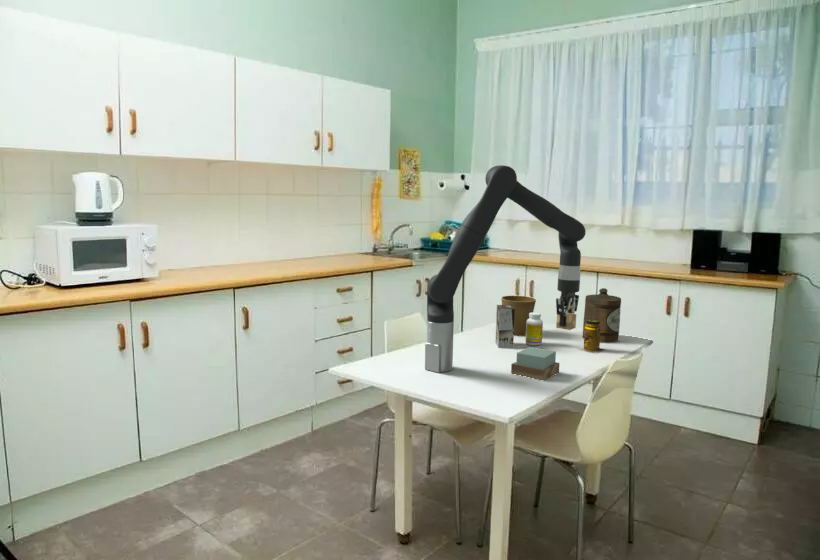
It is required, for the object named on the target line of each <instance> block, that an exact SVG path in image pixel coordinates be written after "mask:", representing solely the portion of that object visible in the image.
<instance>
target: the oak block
mask: <svg viewBox="0 0 820 560" xmlns="http://www.w3.org/2000/svg"><path fill="white" fill-rule="evenodd" d="M559 323H560V316H559V315H558V314H557V313H556V325H555V326H556V329H561V330H568V331H571V330H573V329H576V325H577V314H576V313H574V314H573V313H567V317H566V326H565V327H562V326H560V325H559Z"/></svg>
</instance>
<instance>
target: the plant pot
mask: <svg viewBox="0 0 820 560" xmlns="http://www.w3.org/2000/svg"><path fill="white" fill-rule="evenodd" d="M536 301H537V299H536V298H534V297H531V296H525V295H504V296H503V295H502V296H501V305H512V306H513V307H514V308H515V319H514V336H516V335H517V336H519V335H522V336H526V322H527V320H528V319H529V318H530V317H529V313H532V312H534V310H535V306H536ZM519 337H520V336H519Z"/></svg>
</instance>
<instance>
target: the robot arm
mask: <svg viewBox="0 0 820 560" xmlns="http://www.w3.org/2000/svg"><path fill="white" fill-rule="evenodd" d="M517 179H518V176H517V173H516V170H515V169H514V168H512V167H511V166H508V165H496V166H493V167H490V169H488V171H487V172H486V173H485V177H484V180H485V185H486V187H485V190H484V192H483V194H482V196H481V198H480V200H479V201H478V202H477V203H476V204H475V206H474V207H473V208H472V209H471V211H470V212H469V213H468V214H467V215H466V217H464V219H463V221H462V222H461V224H460V226H459V228H458V229H457V232H456V234H455V236H454V238H453V241H452V242H451V246H450V248H449V250H448V253H447V254H448V255H447V257H446V259H445V261H444V264H443V265H442V267H441V268H440V270H439V271H438V273H437V274H435V275H433V276H432V277H431V278H430V279H429V280H428V282H427V288H426V300H427V301H426V315H427V318H426V342H425V344H424V370H428V371H430V372H434V373H445V372H450V371H452V370H453V369H454V368H453V366H454V365H453V363H454V361H453V360H454V358H453V357H454V325H455V324H454V323H455V319H454V318H455V312H454V311H455V310H454V296H455V294H456V291H457V290H458V287H459V285H460V282H461V279H462V277H463V276H464V273H465V271H466V269H467V268H468V266H469V265H470V263H471V262H472V260H473V259H474V258H475V255H476V254H477V252H478V251H479V249H480V247H481V246H482V244H483V243H484V240H485V239H486V237H487V235H488V233H489V231H490V229H491V227H492V225H493V223H494V222H495V220H496V217H497V215H498V213H499V210H500V209H501V208H502V206H503V204H504V203H505V202H506V200H507V199H509V200H511V201H512V202H514V203H516V204H517V205H519V206H520V207H521V208H522V209H524V210H525V211H527V213H528V214H531V215H532V216H533V217H534V218H535V219H537V220H538V221H540V222H541V223H543V224H544V225H545V226H547V227H548V228H550V229H554V230H556V231H557V232H558V235H557V236H558V245H559V251H560V254H559V266H558V274H557V275H558V276H557V291H559V292H560V296H559V297H558V298H557V297H556V299H555V304H556V305H555V307H556V315H557V314H558V315H559V316H560V323H559V325H560V326H562V327H565V326H566V317H567V313H573V314H576V313H575V312H577V311H578V305H579V300H580V299H579V298H580V296H579V294H576V293H578V292H580V286H581V285H580V284H581V258H582V253H581V250H580V249H579V248H578V242H579V241H580V242H581V241H582V240H583V239H584V238H585V235H586V233H587V232H586V228H585V226H584V225H583V223H582V222H581V221H579V220H578V219H576V218H574V217H573V216H570V215H569V214H567V213H565V212H563V210H561V209H560V208H559V207H557V206H556V205H555V204H553V203H552V202H550V201H549V200H547V199H546V198H544V197H542V196H541V195H539V194H537V193H535V192H534V191H532V190H530V189H529V188H527V187H526V186H524V185H523V184H522V183H520V182H519V181H518V180H517Z"/></svg>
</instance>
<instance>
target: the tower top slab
mask: <svg viewBox="0 0 820 560" xmlns="http://www.w3.org/2000/svg"><path fill="white" fill-rule="evenodd" d="M556 354H557V351H556V350H548V349H545V348H544V349H543V348H538V347H537V348H536V347H533V346H531V347H530V346H528V347H526V348H524V349H521V350H520V351H519V352H517V353H516V362H517V365H522V366H528V367H533V368H539V369H546V368H547V367H549V366H551V365H552V364H554V363H555V362H556V358H557V355H556Z"/></svg>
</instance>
